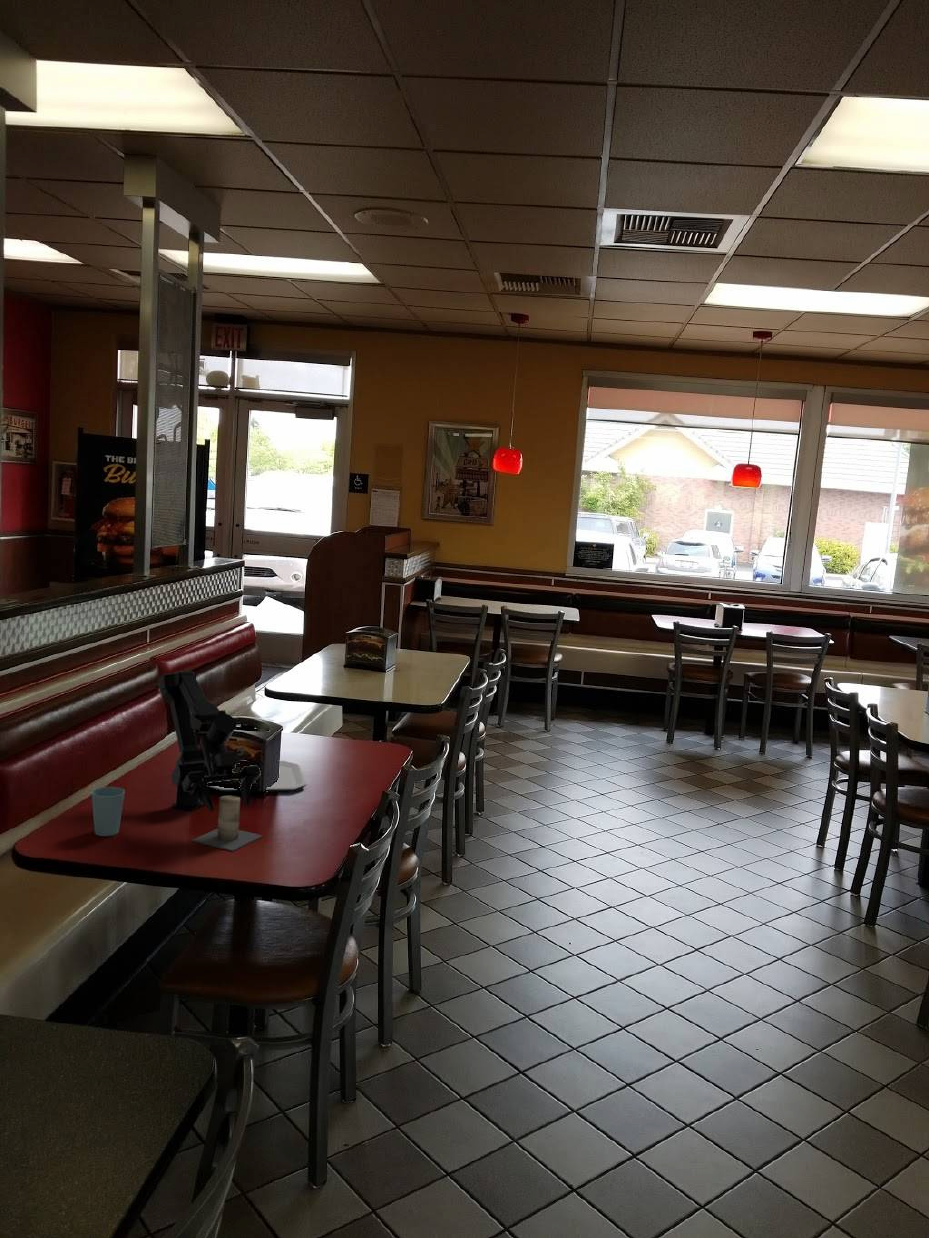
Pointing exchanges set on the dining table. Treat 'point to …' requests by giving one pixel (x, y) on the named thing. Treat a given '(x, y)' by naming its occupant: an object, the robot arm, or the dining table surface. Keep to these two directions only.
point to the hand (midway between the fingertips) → (230, 808)
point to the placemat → (213, 841)
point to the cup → (107, 810)
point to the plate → (281, 779)
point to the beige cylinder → (228, 818)
